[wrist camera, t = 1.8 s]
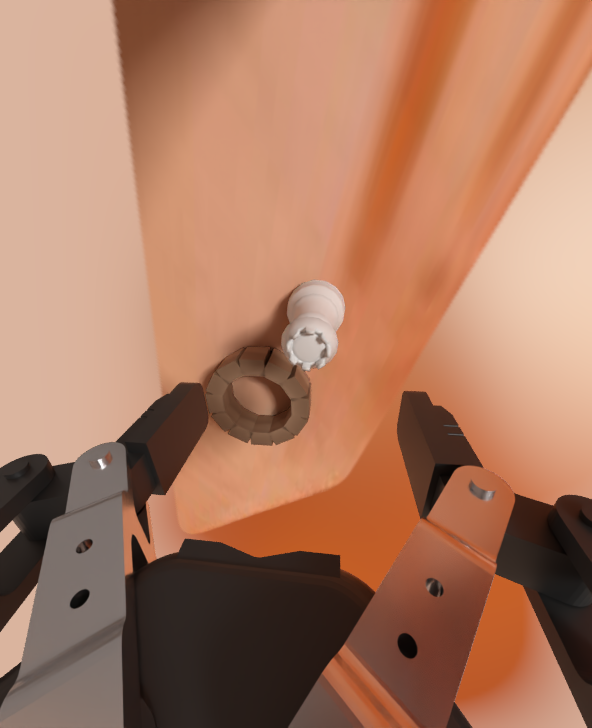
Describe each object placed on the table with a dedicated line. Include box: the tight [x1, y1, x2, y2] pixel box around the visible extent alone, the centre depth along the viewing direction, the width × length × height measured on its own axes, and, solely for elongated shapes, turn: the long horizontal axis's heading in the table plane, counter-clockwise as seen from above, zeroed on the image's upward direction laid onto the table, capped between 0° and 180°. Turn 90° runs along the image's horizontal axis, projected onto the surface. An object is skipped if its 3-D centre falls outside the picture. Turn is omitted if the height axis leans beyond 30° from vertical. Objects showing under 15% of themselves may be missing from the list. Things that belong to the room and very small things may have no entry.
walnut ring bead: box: [205, 346, 311, 446], centre depth 26 cm, size 9×9×2 cm
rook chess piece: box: [281, 280, 345, 371], centre depth 19 cm, size 4×4×8 cm
